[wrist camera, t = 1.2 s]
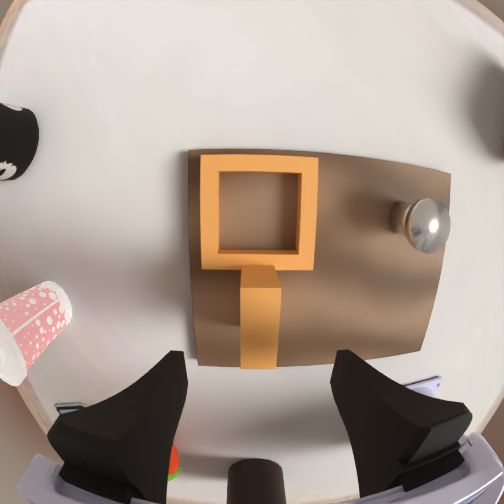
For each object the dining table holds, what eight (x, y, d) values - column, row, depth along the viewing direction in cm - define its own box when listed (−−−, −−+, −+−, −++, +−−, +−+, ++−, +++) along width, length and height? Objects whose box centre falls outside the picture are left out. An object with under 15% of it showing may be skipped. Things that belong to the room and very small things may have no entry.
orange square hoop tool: (303, 325, 19) (318, 366, 14) (207, 325, 19) (196, 367, 14) (313, 159, 16) (338, 150, 12) (203, 157, 16) (187, 146, 11)
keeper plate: (416, 346, 21) (419, 350, 20) (199, 359, 21) (198, 365, 20) (444, 173, 17) (450, 173, 17) (191, 151, 17) (188, 150, 16)
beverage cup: (24, 287, 19) (-72, 352, 6) (54, 261, 19) (-67, 331, 5) (55, 340, 20) (-24, 425, 7) (90, 321, 20) (-5, 426, 6)
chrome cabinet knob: (416, 241, 18) (446, 254, 14) (380, 240, 18) (408, 253, 14) (420, 197, 17) (452, 201, 13) (384, 192, 17) (413, 195, 13)
